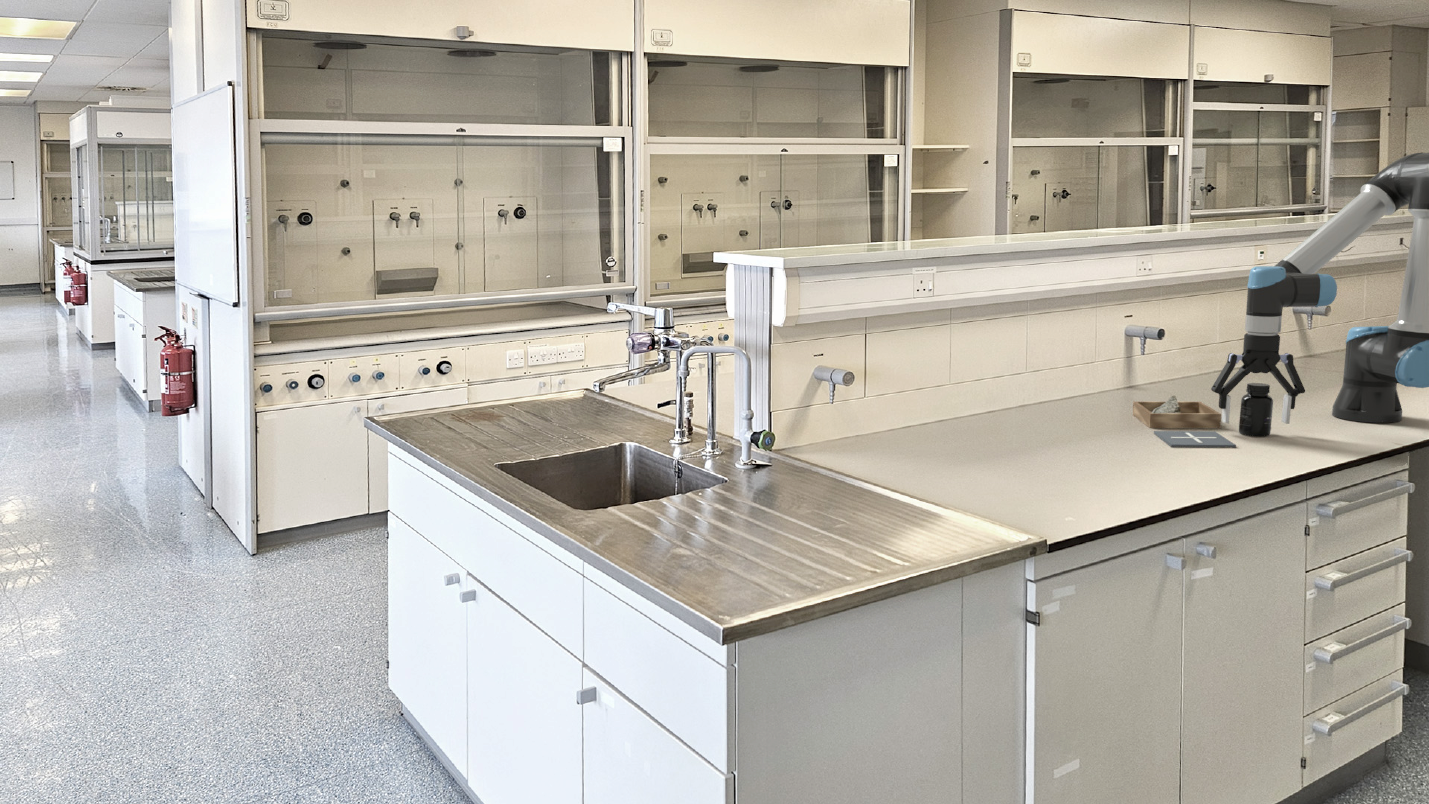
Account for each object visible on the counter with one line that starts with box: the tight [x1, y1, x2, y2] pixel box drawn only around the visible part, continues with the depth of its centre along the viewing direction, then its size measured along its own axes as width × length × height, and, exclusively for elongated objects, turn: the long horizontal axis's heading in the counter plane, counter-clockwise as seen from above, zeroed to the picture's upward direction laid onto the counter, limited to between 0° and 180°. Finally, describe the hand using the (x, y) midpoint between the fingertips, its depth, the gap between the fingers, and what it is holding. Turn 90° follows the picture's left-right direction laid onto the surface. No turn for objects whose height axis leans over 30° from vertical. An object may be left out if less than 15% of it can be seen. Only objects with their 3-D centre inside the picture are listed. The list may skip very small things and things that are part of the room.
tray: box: [1132, 401, 1222, 429], centre depth 275 cm, size 17×16×4 cm
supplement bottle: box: [1238, 382, 1274, 438], centre depth 259 cm, size 7×7×12 cm
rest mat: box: [1153, 430, 1237, 449], centre depth 255 cm, size 14×14×1 cm
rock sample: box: [1151, 394, 1181, 413], centre depth 277 cm, size 10×8×9 cm
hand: (1255, 422), depth 260 cm, fingers open, 13 cm apart
